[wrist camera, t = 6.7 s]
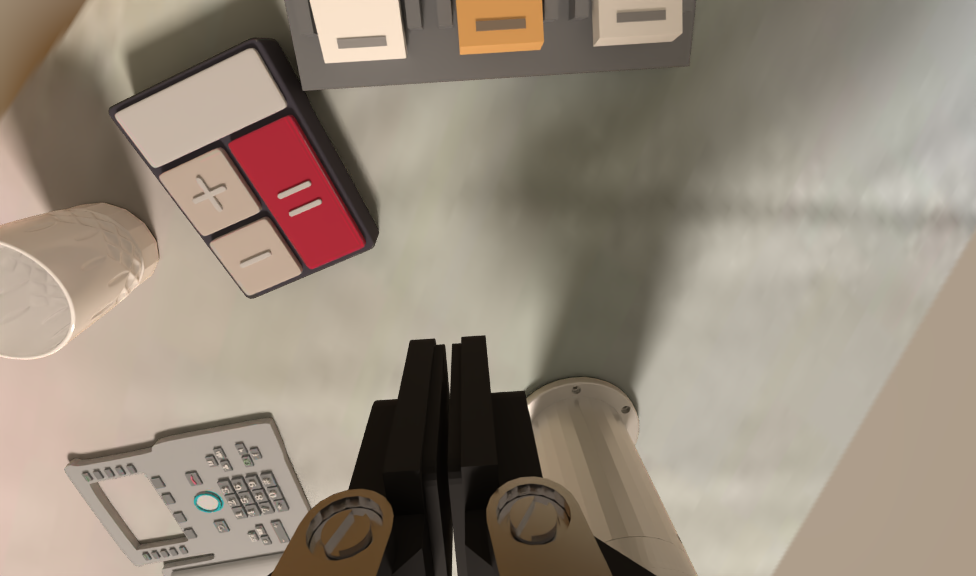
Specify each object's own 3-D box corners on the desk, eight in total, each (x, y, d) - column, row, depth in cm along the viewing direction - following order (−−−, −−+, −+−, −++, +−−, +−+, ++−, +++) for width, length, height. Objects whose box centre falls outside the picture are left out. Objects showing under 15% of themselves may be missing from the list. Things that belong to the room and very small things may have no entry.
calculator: (244, 306, 36) (95, 110, 29) (264, 281, 39) (136, 103, 33) (375, 251, 34) (252, 34, 28) (382, 230, 38) (275, 35, 31)
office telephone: (339, 594, 52) (160, 624, 52) (344, 571, 54) (173, 600, 54) (263, 432, 42) (42, 470, 42) (273, 413, 44) (63, 449, 44)
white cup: (173, 215, 36) (77, 263, 27) (162, 303, 39) (72, 374, 29) (57, 178, 34) (-88, 216, 25) (54, 273, 37) (-77, 338, 28)
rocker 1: (390, -69, 25) (388, -68, 24) (407, 52, 29) (406, 58, 28) (300, -65, 25) (293, -63, 24) (329, 57, 29) (324, 63, 28)
